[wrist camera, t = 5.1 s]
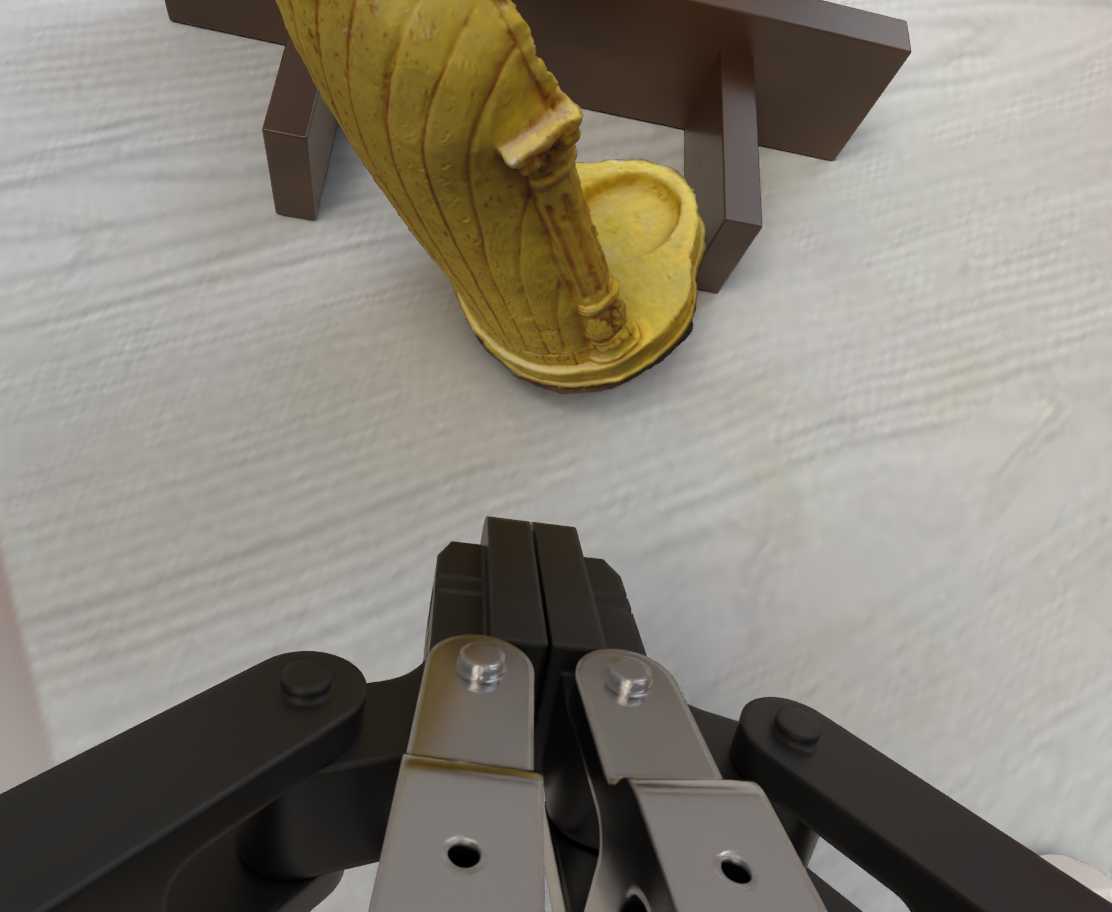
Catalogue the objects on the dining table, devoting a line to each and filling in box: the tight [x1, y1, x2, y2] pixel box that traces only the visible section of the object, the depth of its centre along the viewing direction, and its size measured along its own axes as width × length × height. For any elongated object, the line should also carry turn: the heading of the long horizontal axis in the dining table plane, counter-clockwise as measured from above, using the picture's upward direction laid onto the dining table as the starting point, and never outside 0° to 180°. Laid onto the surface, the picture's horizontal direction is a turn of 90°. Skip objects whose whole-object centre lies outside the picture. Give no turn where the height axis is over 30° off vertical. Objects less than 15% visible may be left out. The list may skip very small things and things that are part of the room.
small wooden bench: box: [165, 0, 911, 293], centre depth 26 cm, size 24×8×5 cm, turn 86°
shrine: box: [276, 0, 707, 394], centre depth 19 cm, size 12×8×15 cm
